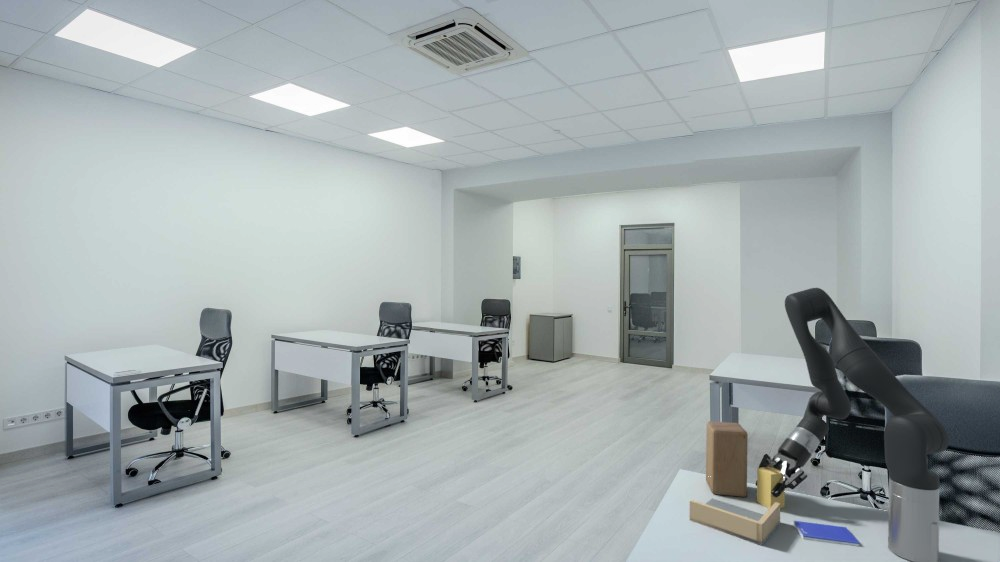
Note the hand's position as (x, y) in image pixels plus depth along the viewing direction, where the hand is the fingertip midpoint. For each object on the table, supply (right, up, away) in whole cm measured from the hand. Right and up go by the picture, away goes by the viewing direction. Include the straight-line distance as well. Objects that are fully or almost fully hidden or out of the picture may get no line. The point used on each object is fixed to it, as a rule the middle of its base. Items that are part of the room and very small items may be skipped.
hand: (765, 490), depth 142 cm
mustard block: (+2, -4, +1) cm, 5 cm away
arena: (-14, -4, -10) cm, 17 cm away
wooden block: (-7, -4, +10) cm, 13 cm away
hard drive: (+7, -5, -16) cm, 18 cm away
